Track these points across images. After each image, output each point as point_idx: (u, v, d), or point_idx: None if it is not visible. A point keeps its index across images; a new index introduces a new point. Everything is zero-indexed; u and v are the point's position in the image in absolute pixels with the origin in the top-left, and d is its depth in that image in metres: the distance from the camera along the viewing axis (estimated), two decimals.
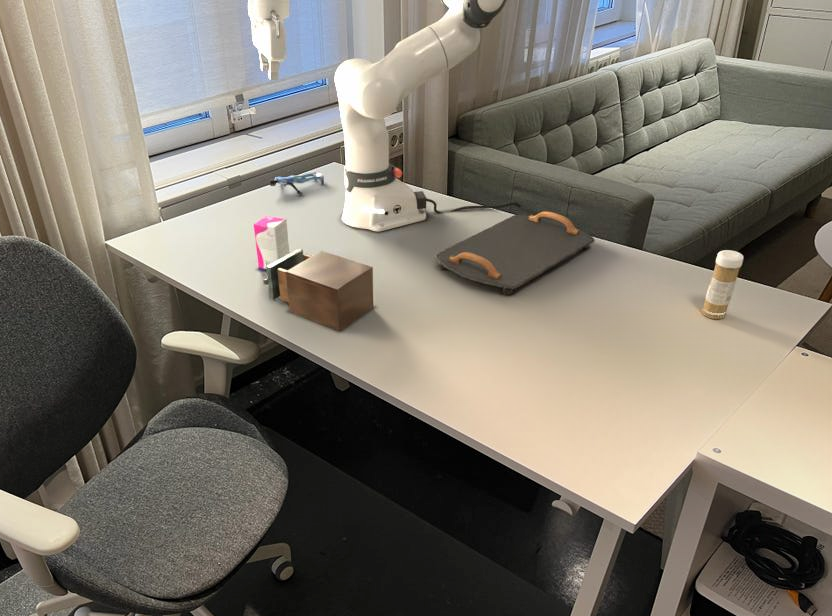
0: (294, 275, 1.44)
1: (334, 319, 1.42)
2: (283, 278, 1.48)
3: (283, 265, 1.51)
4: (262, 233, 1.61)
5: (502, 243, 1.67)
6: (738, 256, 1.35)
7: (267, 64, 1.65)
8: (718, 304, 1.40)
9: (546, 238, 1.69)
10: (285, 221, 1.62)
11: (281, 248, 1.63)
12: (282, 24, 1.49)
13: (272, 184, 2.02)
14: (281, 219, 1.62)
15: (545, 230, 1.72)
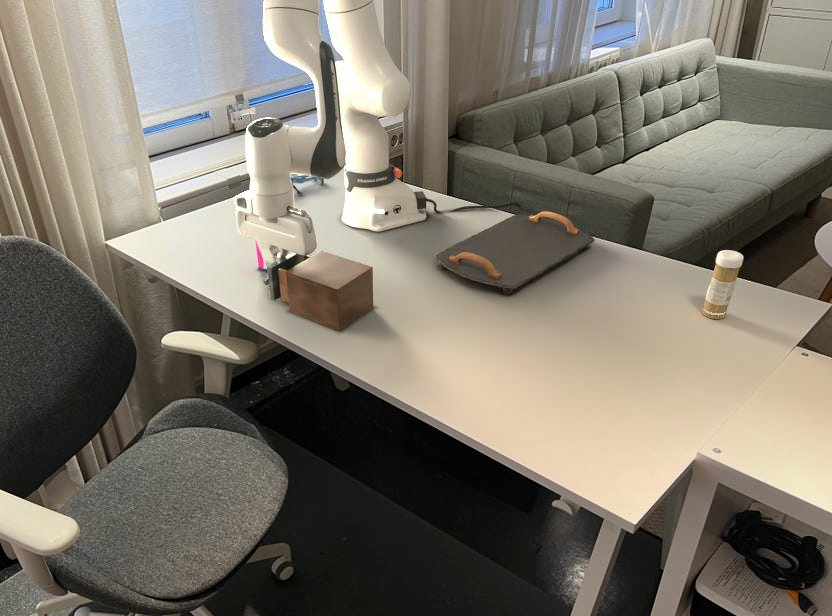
0: (294, 275, 1.44)
1: (334, 319, 1.42)
2: (284, 278, 1.48)
3: (283, 265, 1.51)
4: None
5: (502, 243, 1.67)
6: (738, 256, 1.35)
7: None
8: (718, 304, 1.40)
9: (546, 238, 1.69)
10: None
11: None
12: None
13: None
14: None
15: (545, 230, 1.72)
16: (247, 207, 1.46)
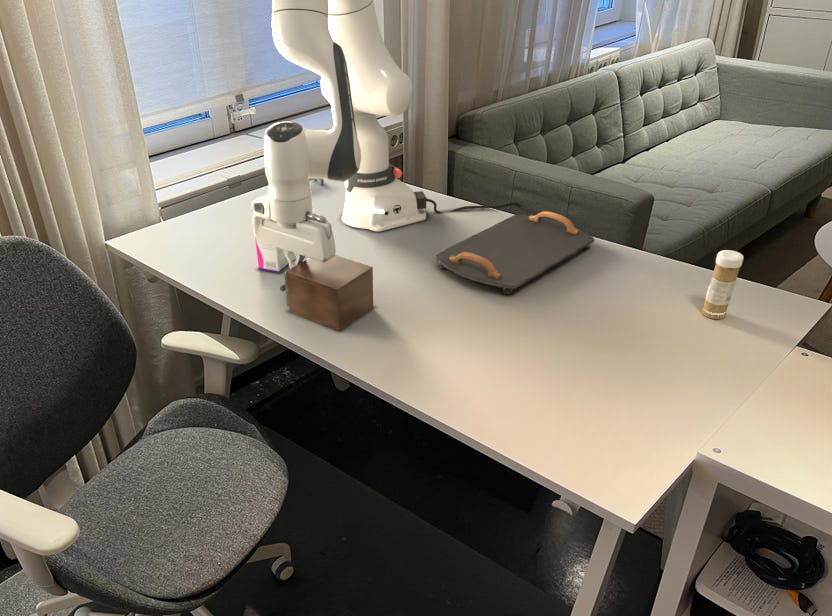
0: (294, 275, 1.44)
1: (334, 319, 1.42)
2: None
3: None
4: None
5: (502, 243, 1.67)
6: (738, 256, 1.35)
7: None
8: (718, 304, 1.40)
9: (546, 238, 1.69)
10: None
11: (281, 248, 1.63)
12: None
13: None
14: None
15: (545, 230, 1.72)
16: (265, 212, 1.44)
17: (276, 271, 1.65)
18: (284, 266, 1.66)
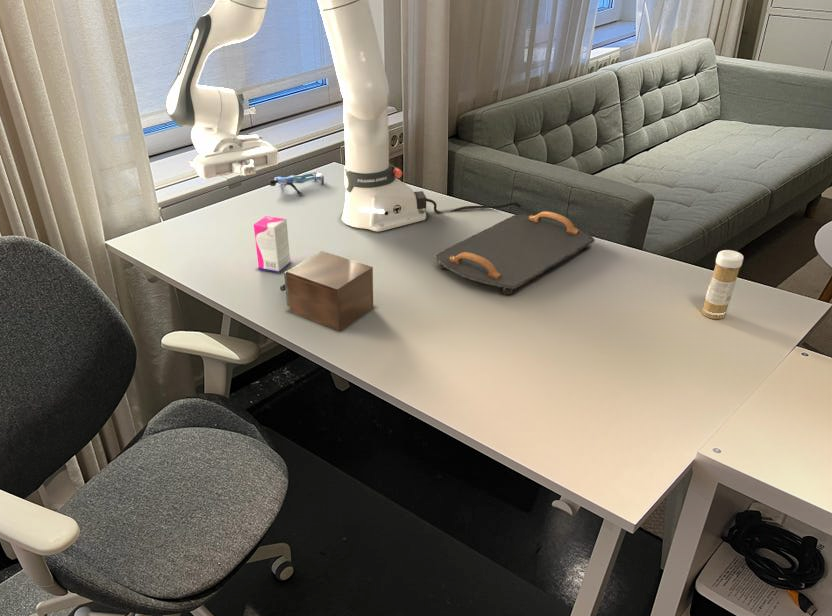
0: (294, 275, 1.44)
1: (334, 319, 1.42)
2: None
3: None
4: (262, 233, 1.61)
5: (502, 243, 1.67)
6: (738, 256, 1.35)
7: None
8: (718, 304, 1.40)
9: (546, 238, 1.69)
10: (285, 221, 1.62)
11: (281, 248, 1.63)
12: None
13: (272, 184, 2.02)
14: (280, 219, 1.62)
15: (545, 230, 1.72)
16: None
17: (276, 271, 1.65)
18: (284, 266, 1.66)
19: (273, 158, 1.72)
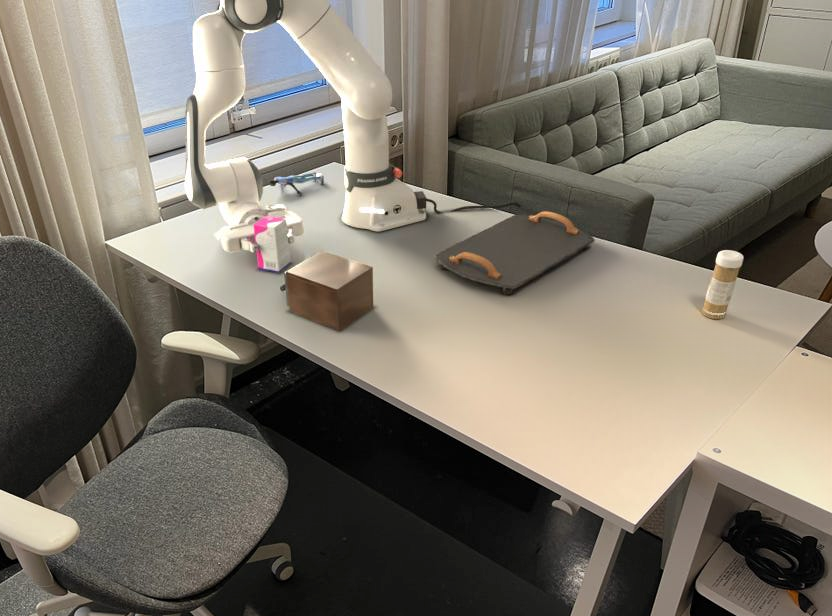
0: (294, 275, 1.44)
1: (334, 319, 1.42)
2: None
3: None
4: (262, 233, 1.61)
5: (502, 243, 1.67)
6: (738, 256, 1.35)
7: None
8: (718, 304, 1.40)
9: (546, 238, 1.69)
10: (285, 221, 1.62)
11: (281, 248, 1.63)
12: None
13: (272, 184, 2.02)
14: (280, 219, 1.62)
15: (545, 230, 1.72)
16: None
17: (276, 271, 1.65)
18: (284, 266, 1.66)
19: (298, 229, 1.70)
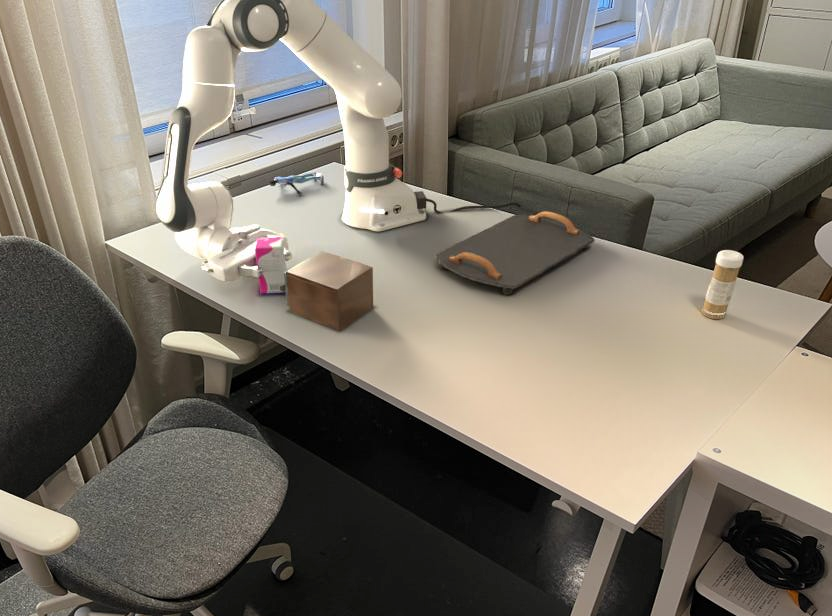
0: (294, 275, 1.44)
1: (334, 319, 1.42)
2: None
3: None
4: (265, 255, 1.51)
5: (502, 243, 1.67)
6: (738, 256, 1.35)
7: None
8: (718, 304, 1.40)
9: (546, 238, 1.69)
10: (282, 239, 1.54)
11: (284, 268, 1.55)
12: None
13: (272, 184, 2.02)
14: (278, 238, 1.54)
15: (545, 230, 1.72)
16: None
17: (282, 292, 1.56)
18: None
19: (285, 245, 1.63)
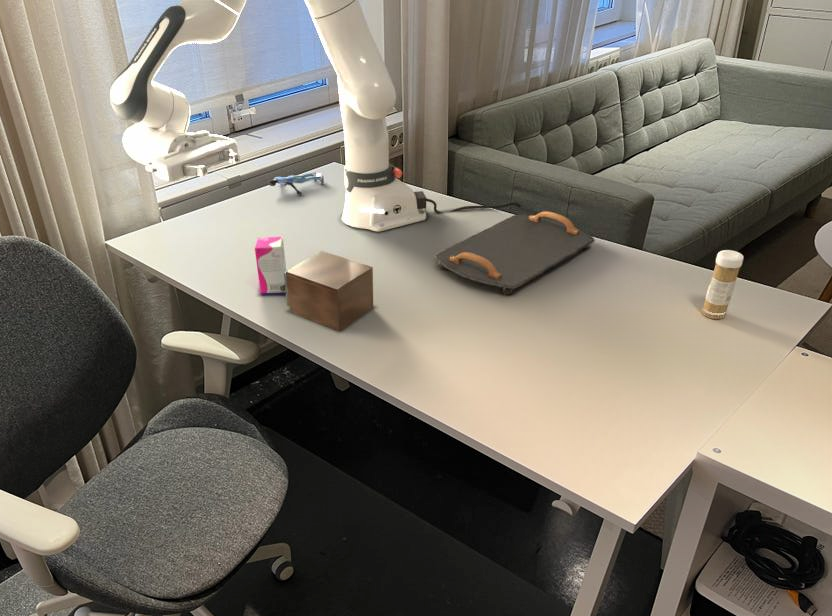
0: (294, 275, 1.44)
1: (334, 319, 1.42)
2: None
3: None
4: (265, 255, 1.51)
5: (502, 243, 1.67)
6: (738, 256, 1.35)
7: (229, 156, 1.53)
8: (718, 304, 1.40)
9: (546, 238, 1.69)
10: (282, 239, 1.54)
11: (284, 268, 1.55)
12: None
13: (272, 184, 2.02)
14: (278, 238, 1.54)
15: (545, 230, 1.72)
16: None
17: (282, 292, 1.56)
18: None
19: (234, 150, 1.58)
